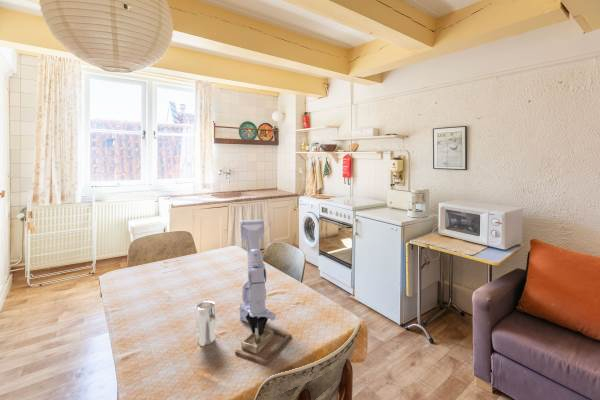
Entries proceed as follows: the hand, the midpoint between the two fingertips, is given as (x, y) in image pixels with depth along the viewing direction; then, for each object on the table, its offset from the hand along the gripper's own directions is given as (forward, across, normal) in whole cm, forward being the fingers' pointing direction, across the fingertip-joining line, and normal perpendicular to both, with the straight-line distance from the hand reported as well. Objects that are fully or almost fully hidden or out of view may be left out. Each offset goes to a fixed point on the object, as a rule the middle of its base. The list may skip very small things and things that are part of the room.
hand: (257, 333), depth 111 cm
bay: (+5, +3, 0) cm, 6 cm away
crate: (+4, 0, 0) cm, 4 cm away
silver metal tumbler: (+5, -18, -7) cm, 20 cm away
